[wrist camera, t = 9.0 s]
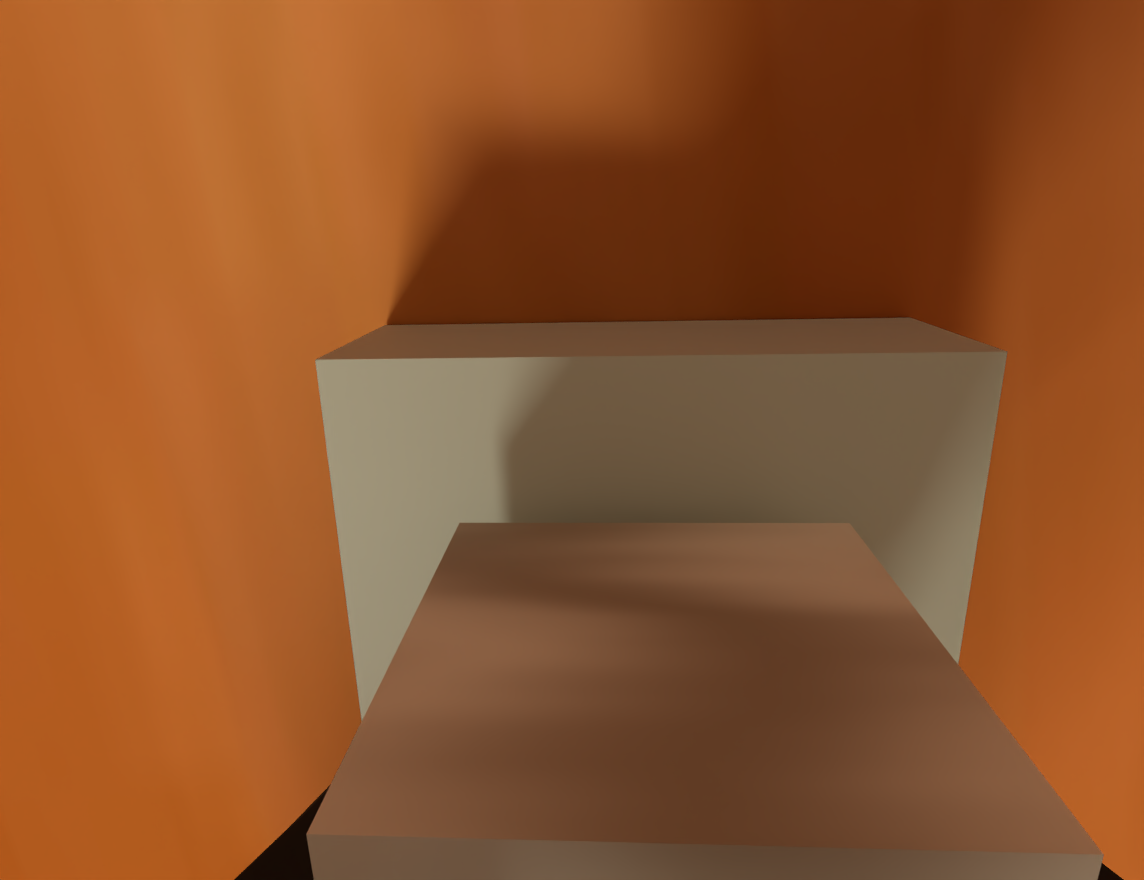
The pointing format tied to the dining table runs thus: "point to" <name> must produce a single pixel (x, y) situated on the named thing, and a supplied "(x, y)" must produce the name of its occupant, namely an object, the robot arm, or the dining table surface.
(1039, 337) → the dining table surface
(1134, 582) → the dining table surface
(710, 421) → the sage pedestal
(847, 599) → the cream cube
